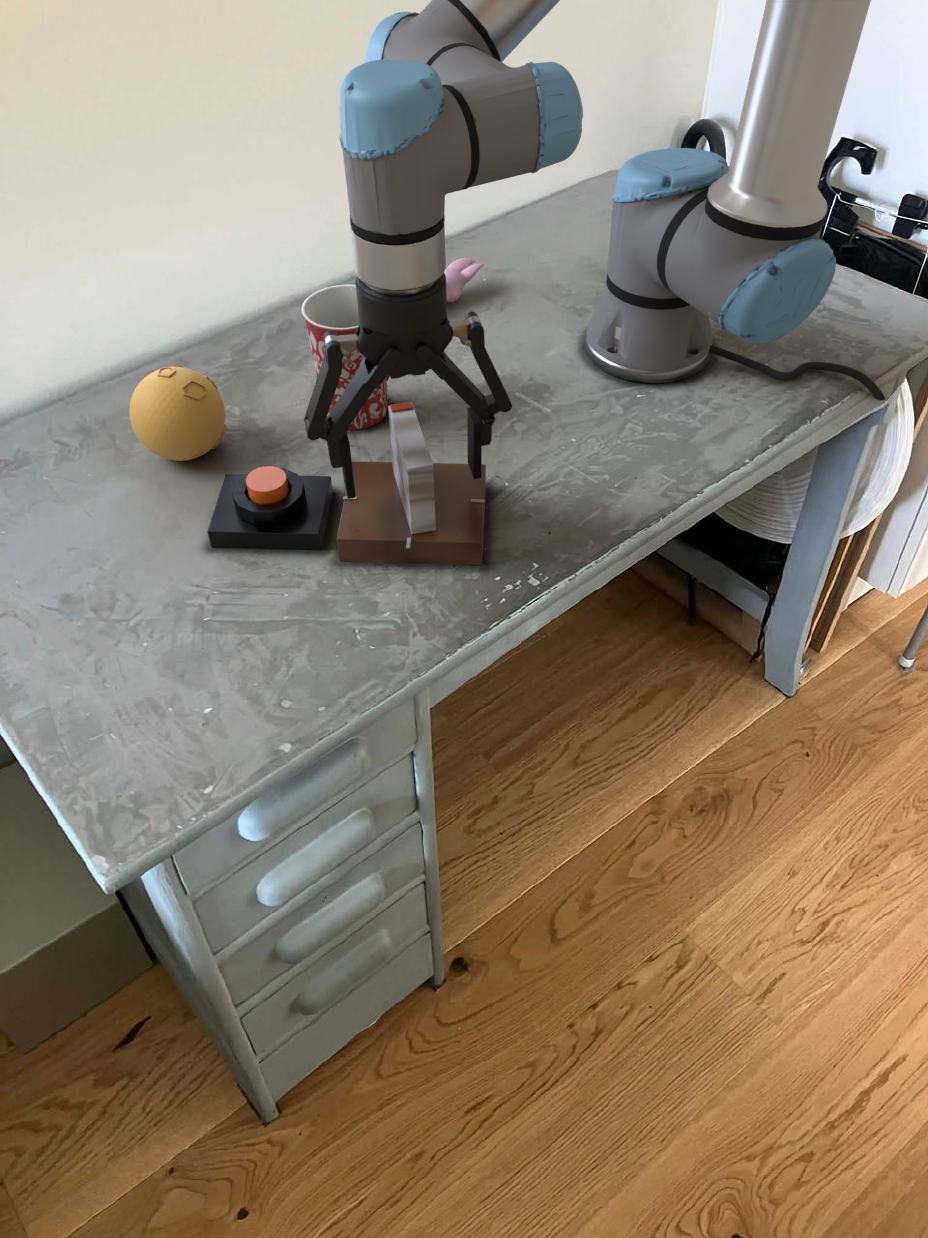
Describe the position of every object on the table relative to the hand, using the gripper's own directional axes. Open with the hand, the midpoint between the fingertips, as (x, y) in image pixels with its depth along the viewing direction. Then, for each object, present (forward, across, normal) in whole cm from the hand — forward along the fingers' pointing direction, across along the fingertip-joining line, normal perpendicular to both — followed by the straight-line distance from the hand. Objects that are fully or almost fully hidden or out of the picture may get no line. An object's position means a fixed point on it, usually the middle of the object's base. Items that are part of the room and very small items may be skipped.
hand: (412, 479), depth 100 cm
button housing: (+6, +14, -4) cm, 16 cm away
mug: (+6, +1, -21) cm, 22 cm away
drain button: (+2, +14, -4) cm, 15 cm away
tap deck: (+6, 0, 0) cm, 6 cm away
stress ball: (+6, +22, -18) cm, 29 cm away
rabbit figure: (+6, -12, -41) cm, 43 cm away
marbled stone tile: (+3, 0, 0) cm, 3 cm away
